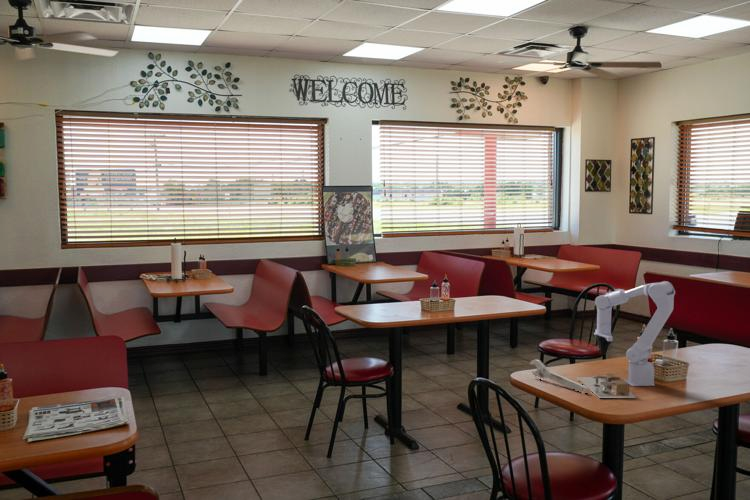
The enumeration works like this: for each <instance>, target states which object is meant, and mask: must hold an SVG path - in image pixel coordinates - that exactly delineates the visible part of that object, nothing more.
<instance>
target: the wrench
mask: <svg viewBox="0 0 750 500" xmlns="http://www.w3.org/2000/svg"><path fill="white" fill-rule="evenodd" d="M530 365H534V366H535V367H536V370H535V371H531V373H532V375H533V376H534V375H535V376H534V377H536V376H538V377H540V378H543V379H549V380H551V381H554V382H556V383H558V384H560V385H562V386H565V387H566V388H569V389H571V390H573V389H576V390H578V391H581V392H582V391H584V392H585V391H586V392H585V393H588V394H590V391H589V388H588V387H586V386H584V385H582V384H581V383H580V382H578V381H574V380H572V379H571V378H567V377H565V376H564V375H563V376H562V375H560V374H558V373H556V372H554V371H552V370H550V369H549V368H548V367H547V366H546V365H545V364H544V363H543V362H542V361H541V360H540V359H533V360H531V361H530V362H529V366H530Z"/></svg>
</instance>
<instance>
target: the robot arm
mask: <svg viewBox="0 0 750 500" xmlns="http://www.w3.org/2000/svg"><path fill="white" fill-rule="evenodd" d="M641 295H645V296H647V297H648V296H649V297H650V298H651V299H652V301H653V303H654V304H655V305H656V307H657V309H656V310H655V312H654V313H653V316H652V317H651V319H650V320H649V322H648V323H647V325H646V327H645V329H644V330H643V332H642V334H641V335H640V337H639V338H638V339H637V340H636V341H635V343H633V345H632V346H631V347H630V348H628V349H627V350H626V352H625V356H626V359H627V361H628V370H627V371H628V376H627V377H628V378H627V379H624V380H625V381H626V382H627V383H629V386H632V387H644V386H645V387H651V386H654V387H655V366H654V363H652V362H650V361H648V360H649V358H651V354H652V349H653V344H654V342H655V340H656V339H657V337H658V335H659V334H660V332H661V331H662V329H663V327H664V325H665V323H667V320H668V319H669V318H670V316H671V314H672V313H673V311H674V305H675V302H674V301H675V300H674V299H675V298H674V297H675V295H676V290H675V288H674V286H673V284H672V283H671V282H669V281H668V280H667V281H666V280H663V281H661V282H660V281H659V282H651V283H645V284H642V285H639V286H637V287H634V288H631V289H627V290H625V289H624V288H616V289H615V290H614V291H611V292H609V291H608V292H605V294H599V296H597V297H595V299H594V305H595V307H596V308H597V310H596V312H597V313H596V329H594V330H595V332H594V333H593V335H594V336H596V337H595V340H596V342H597V345H598V349H599V354H600V355H602V356H603V355H607V352H608V350H609V346H610V345H611V342H613V336H612V308H613V307H614V306H615V307H616V306H618V305H621V304H622V305H623V304H625V303H627V302H628V301H629V300H630V299H631V298H633V297H638V296H641Z"/></svg>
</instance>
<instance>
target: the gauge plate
mask: <svg viewBox="0 0 750 500" xmlns="http://www.w3.org/2000/svg"><path fill="white" fill-rule="evenodd" d="M577 379H578V380H580V381H581V382H582V383H583V384H584V385H585V386H586V387H588V388H589V389H590V390H591V391H592V392H593V393H594V394H596V395H597V396H598V397H599V398H636V395H635V394H634V393H632V392H631V391H630V384H629V383H627V382H626V381H625V379H620V380H612V382H603V378H598V384H596V378H595V379H593V378H592V376H579V377H578V376H576V380H577ZM578 380H577V381H578ZM607 385H611V386H607ZM592 392H591V393H592ZM593 393H592V394H593ZM594 394H593V395H594ZM599 398H598V399H599Z"/></svg>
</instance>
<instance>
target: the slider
mask: <svg viewBox="0 0 750 500" xmlns="http://www.w3.org/2000/svg"><path fill="white" fill-rule="evenodd" d="M591 377H592V378H593V379H595V378H596V384H598V378H603V382H612V380H621V376H620V375H618V374H617V373H603V375H592V376H591ZM607 386H611V385H607Z"/></svg>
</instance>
